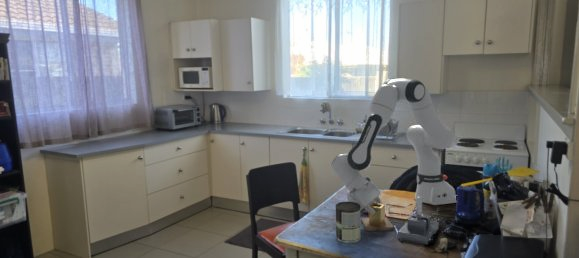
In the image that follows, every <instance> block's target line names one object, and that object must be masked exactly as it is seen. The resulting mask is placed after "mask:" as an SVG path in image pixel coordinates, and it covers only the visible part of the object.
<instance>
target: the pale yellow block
mask: <svg viewBox="0 0 579 258" xmlns="http://www.w3.org/2000/svg"><path fill="white" fill-rule="evenodd" d="M370 207H371V208H372V209H374V210H375V211H376V213H375V214H373V215H372V214H371V213H370V212H369V215H368V218H369V224H374V225H379V226H381V225H382V224H383V223H384V222H385V217H386V216H385V213H386V204H383V203H382V204H379V203H376V202H375V203H372V204H371V205H370Z"/></svg>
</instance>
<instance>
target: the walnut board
mask: <svg viewBox="0 0 579 258" xmlns="http://www.w3.org/2000/svg"><path fill="white" fill-rule="evenodd" d="M360 223H361V224H362V225H363V227H364V229H365V231H366V232H371V231H372V232H373V231H377V232H378V231H379V232H381V231H394V230H395V226H394V225H393V224H392V223H391V221H390V220H389V218H388V217H387V216H385V222H384V223H383V224H382V225H381V226H379V225H374V224H369V217H360Z"/></svg>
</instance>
